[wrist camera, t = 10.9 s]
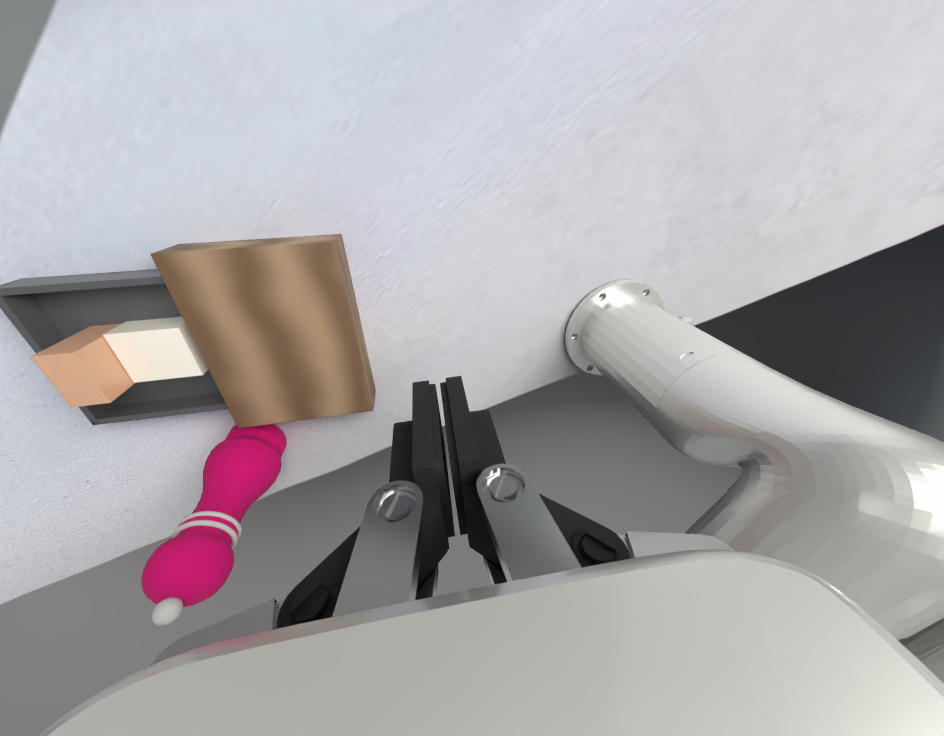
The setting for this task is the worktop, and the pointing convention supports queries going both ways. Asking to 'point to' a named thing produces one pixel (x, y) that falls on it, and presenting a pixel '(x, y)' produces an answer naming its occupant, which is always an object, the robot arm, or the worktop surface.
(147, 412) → the bin
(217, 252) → the walnut block
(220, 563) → the pepper mill
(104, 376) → the tan rectangular block
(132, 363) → the tile cream
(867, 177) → the worktop surface
